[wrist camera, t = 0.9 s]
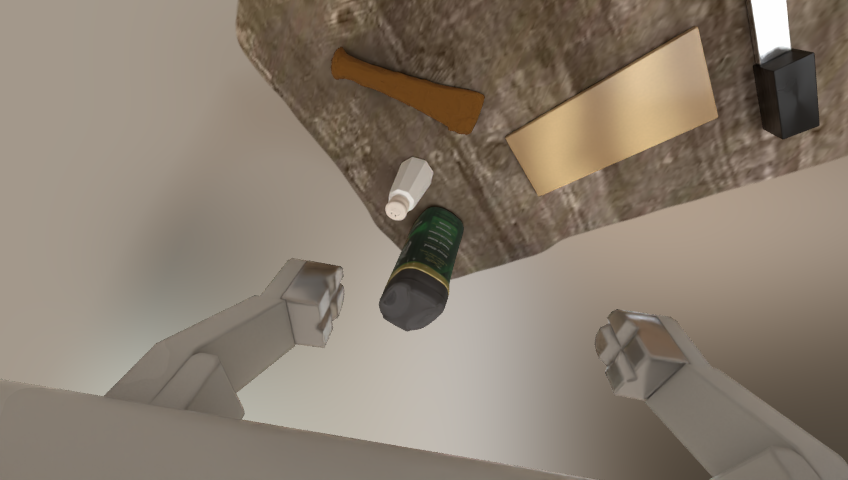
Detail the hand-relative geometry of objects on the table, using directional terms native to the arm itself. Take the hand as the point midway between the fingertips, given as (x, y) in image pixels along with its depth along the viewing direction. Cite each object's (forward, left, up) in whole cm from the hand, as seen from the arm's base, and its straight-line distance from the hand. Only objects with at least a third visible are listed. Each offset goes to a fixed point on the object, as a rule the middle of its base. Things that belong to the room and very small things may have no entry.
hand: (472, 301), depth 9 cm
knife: (-13, +21, -35) cm, 42 cm away
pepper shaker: (+17, -4, -35) cm, 39 cm away
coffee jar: (+25, +3, -35) cm, 43 cm away
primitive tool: (+6, -9, -35) cm, 36 cm away
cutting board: (0, +14, -35) cm, 37 cm away
